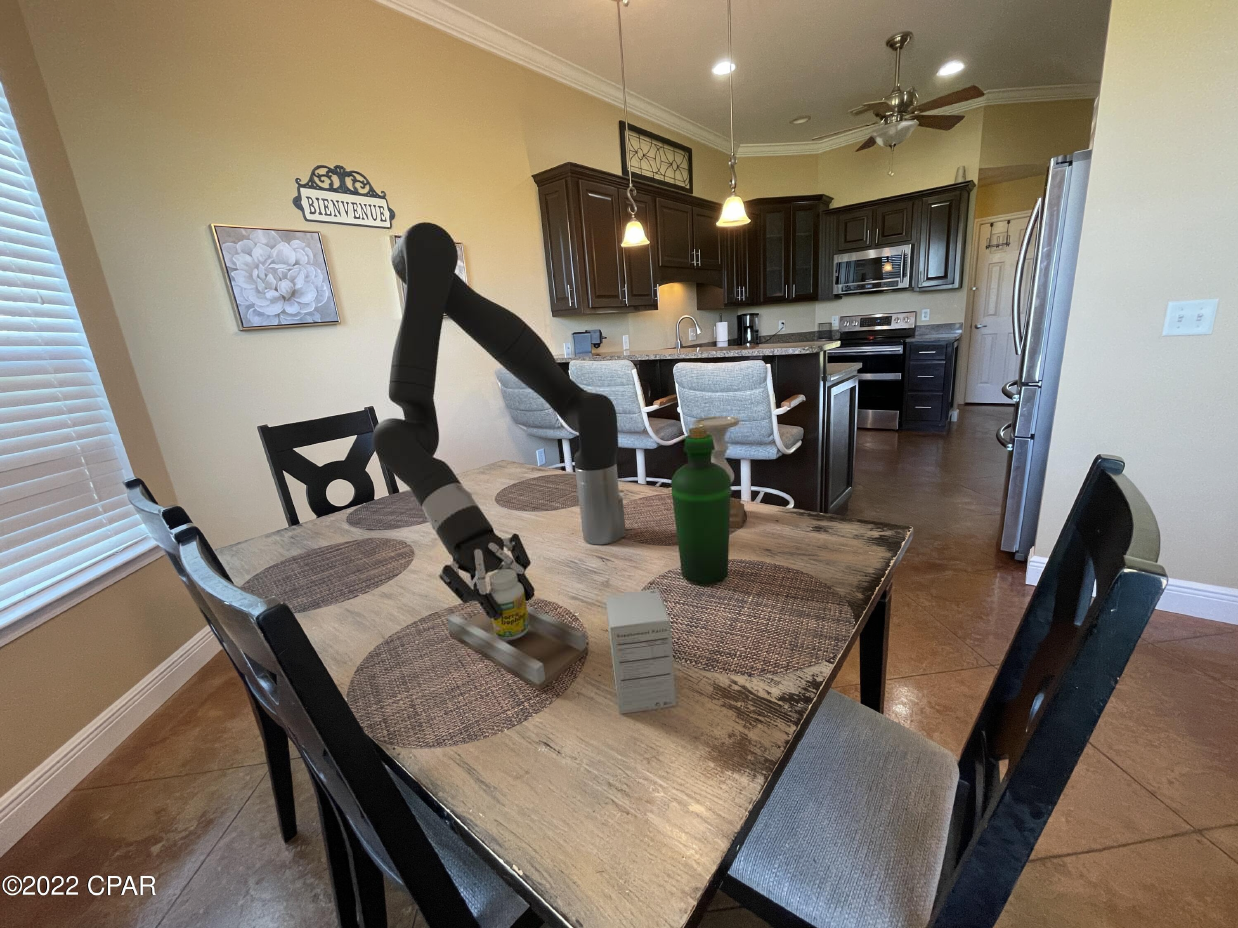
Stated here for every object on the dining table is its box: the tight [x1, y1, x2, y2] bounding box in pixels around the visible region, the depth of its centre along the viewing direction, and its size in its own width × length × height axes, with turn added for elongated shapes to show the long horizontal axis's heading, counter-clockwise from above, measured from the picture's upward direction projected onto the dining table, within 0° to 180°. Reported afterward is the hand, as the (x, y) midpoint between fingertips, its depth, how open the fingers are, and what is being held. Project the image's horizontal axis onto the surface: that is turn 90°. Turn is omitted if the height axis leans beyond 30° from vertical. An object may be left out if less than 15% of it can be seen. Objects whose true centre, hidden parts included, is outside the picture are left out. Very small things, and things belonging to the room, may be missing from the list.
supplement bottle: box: [487, 569, 530, 640], centre depth 72 cm, size 5×5×10 cm
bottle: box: [670, 426, 732, 586], centre depth 85 cm, size 11×11×28 cm
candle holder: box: [693, 416, 745, 529], centre depth 111 cm, size 11×11×24 cm
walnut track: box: [446, 605, 588, 692], centre depth 74 cm, size 22×9×4 cm, turn 50°
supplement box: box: [605, 588, 677, 715], centre depth 61 cm, size 7×7×13 cm
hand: (515, 607), depth 71 cm, fingers closed on supplement bottle, 5 cm apart
